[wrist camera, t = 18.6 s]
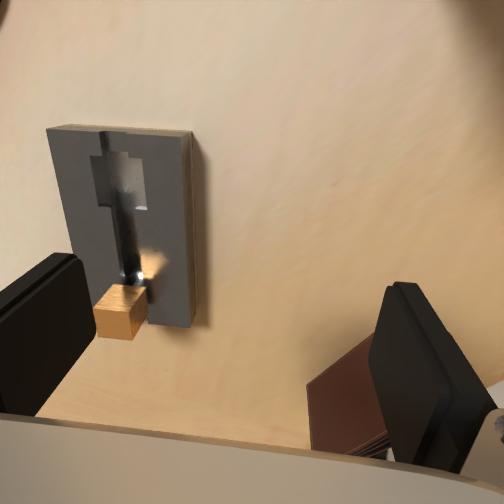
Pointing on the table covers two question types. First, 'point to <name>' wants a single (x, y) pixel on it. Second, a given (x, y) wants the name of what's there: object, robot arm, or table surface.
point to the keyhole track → (131, 212)
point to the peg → (122, 309)
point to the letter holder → (347, 408)
